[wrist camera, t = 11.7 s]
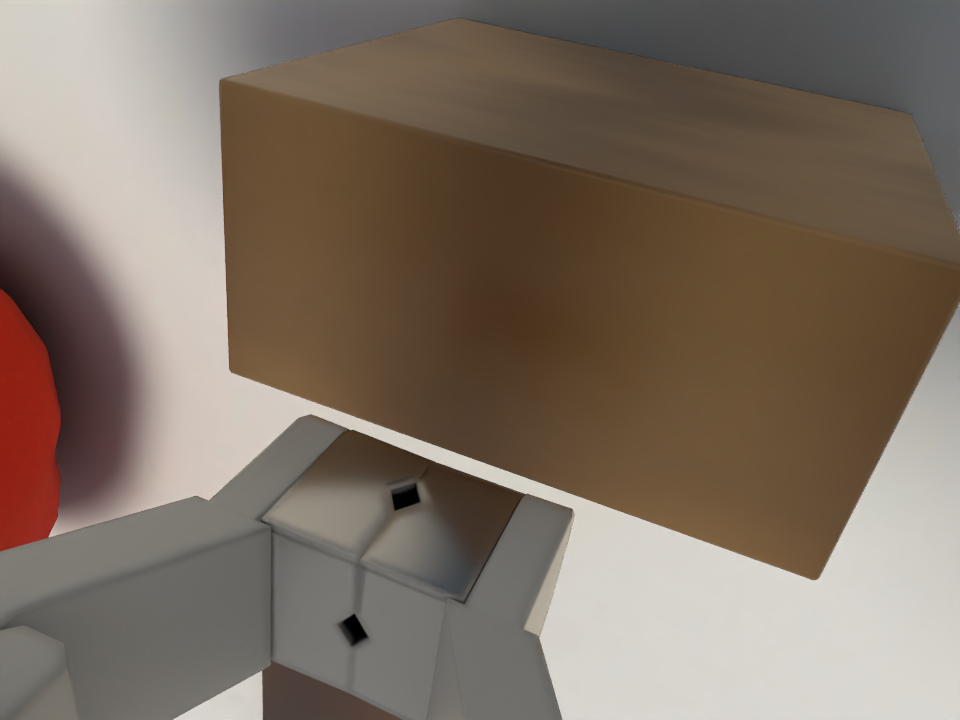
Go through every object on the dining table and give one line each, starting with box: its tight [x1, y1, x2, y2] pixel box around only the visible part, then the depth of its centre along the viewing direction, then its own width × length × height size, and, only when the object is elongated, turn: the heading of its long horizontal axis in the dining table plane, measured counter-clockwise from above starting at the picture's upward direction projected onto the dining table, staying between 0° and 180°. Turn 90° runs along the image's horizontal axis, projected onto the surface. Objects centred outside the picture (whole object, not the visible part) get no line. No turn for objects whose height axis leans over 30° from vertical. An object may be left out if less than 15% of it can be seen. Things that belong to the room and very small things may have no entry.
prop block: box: [219, 18, 960, 580], centre depth 12 cm, size 8×4×7 cm, turn 82°
